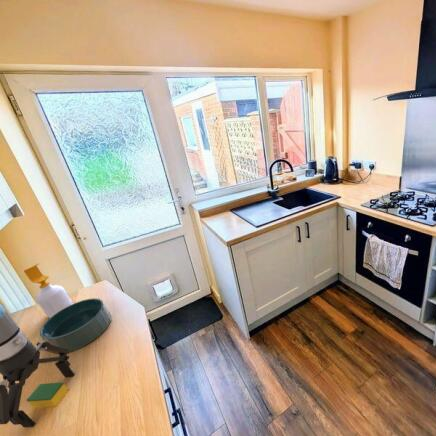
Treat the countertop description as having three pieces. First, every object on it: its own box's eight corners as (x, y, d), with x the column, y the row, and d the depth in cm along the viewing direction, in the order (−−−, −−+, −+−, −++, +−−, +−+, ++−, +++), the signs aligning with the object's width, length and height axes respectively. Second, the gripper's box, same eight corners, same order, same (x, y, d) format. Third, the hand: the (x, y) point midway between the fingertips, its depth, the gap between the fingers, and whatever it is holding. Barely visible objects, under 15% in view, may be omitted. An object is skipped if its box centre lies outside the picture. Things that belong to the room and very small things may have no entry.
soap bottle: (56, 320, 104) (24, 273, 93) (43, 316, 107) (10, 270, 96) (79, 305, 111) (51, 260, 101) (66, 302, 114) (38, 258, 104)
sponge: (33, 408, 72) (25, 400, 70) (47, 391, 76) (40, 383, 74) (56, 406, 71) (49, 398, 70) (69, 390, 75) (62, 382, 74)
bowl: (36, 356, 88) (23, 341, 85) (78, 314, 106) (69, 300, 102) (88, 352, 87) (78, 336, 84) (121, 310, 105) (114, 296, 102)
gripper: (-33, 401, 53) (22, 451, 62) (63, 313, 76) (93, 358, 84) (-66, 404, 53) (-6, 453, 62) (40, 315, 76) (72, 360, 85)
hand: (51, 398), depth 73 cm, fingers open, 13 cm apart
